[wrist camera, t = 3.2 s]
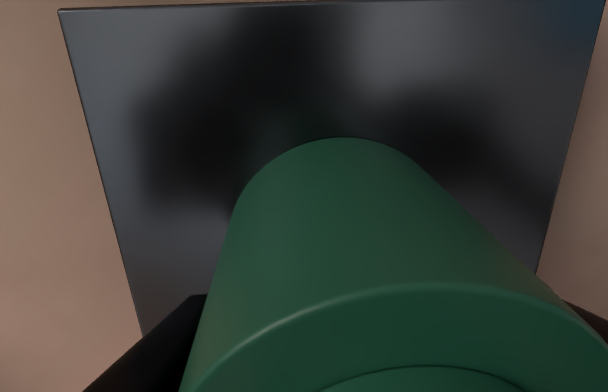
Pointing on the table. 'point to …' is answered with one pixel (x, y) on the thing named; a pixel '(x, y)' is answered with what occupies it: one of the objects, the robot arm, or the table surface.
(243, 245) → the green bottle
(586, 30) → the black flat square slab
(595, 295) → the table surface
